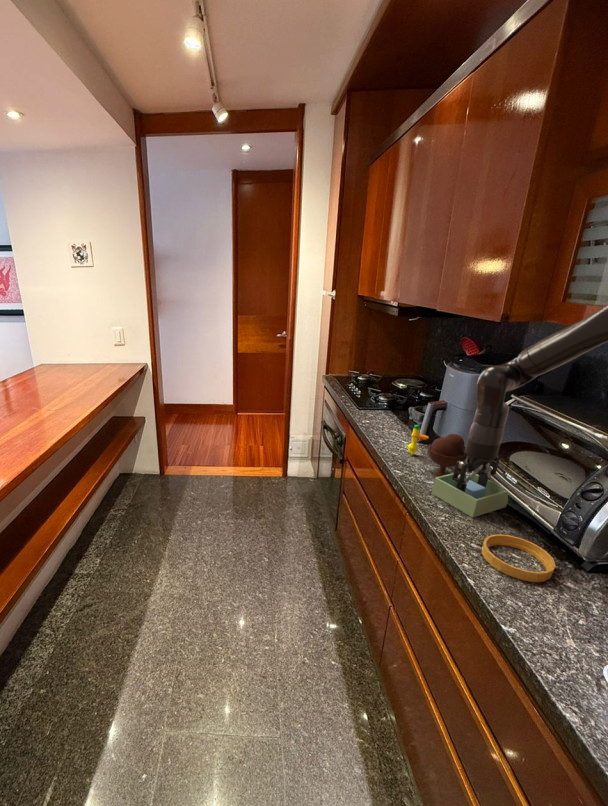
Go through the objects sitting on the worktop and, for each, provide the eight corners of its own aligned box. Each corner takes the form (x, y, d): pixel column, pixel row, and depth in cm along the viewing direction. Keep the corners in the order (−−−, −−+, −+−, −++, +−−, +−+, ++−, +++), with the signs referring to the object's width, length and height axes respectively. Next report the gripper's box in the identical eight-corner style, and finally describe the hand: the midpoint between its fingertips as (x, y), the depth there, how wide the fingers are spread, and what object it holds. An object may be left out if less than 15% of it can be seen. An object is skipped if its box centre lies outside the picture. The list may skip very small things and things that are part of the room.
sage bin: (462, 486, 119) (467, 469, 117) (505, 509, 107) (511, 490, 105) (430, 495, 114) (434, 477, 112) (471, 519, 103) (477, 500, 101)
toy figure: (424, 457, 138) (431, 426, 133) (423, 461, 135) (429, 429, 130) (404, 453, 141) (410, 422, 137) (402, 456, 138) (408, 425, 134)
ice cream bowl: (446, 467, 130) (456, 426, 125) (467, 484, 120) (479, 440, 114) (415, 468, 130) (424, 427, 124) (434, 485, 120) (445, 441, 114)
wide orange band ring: (505, 539, 95) (508, 529, 94) (564, 574, 84) (569, 563, 83) (467, 552, 91) (471, 542, 90) (525, 591, 80) (529, 580, 79)
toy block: (465, 494, 114) (469, 479, 112) (481, 503, 109) (486, 487, 108) (453, 498, 112) (457, 483, 110) (469, 507, 108) (473, 491, 106)
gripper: (478, 448, 98) (464, 503, 104) (516, 439, 103) (500, 492, 109) (452, 437, 104) (440, 489, 110) (489, 430, 109) (475, 480, 115)
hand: (470, 491), depth 109 cm, fingers open, 8 cm apart
